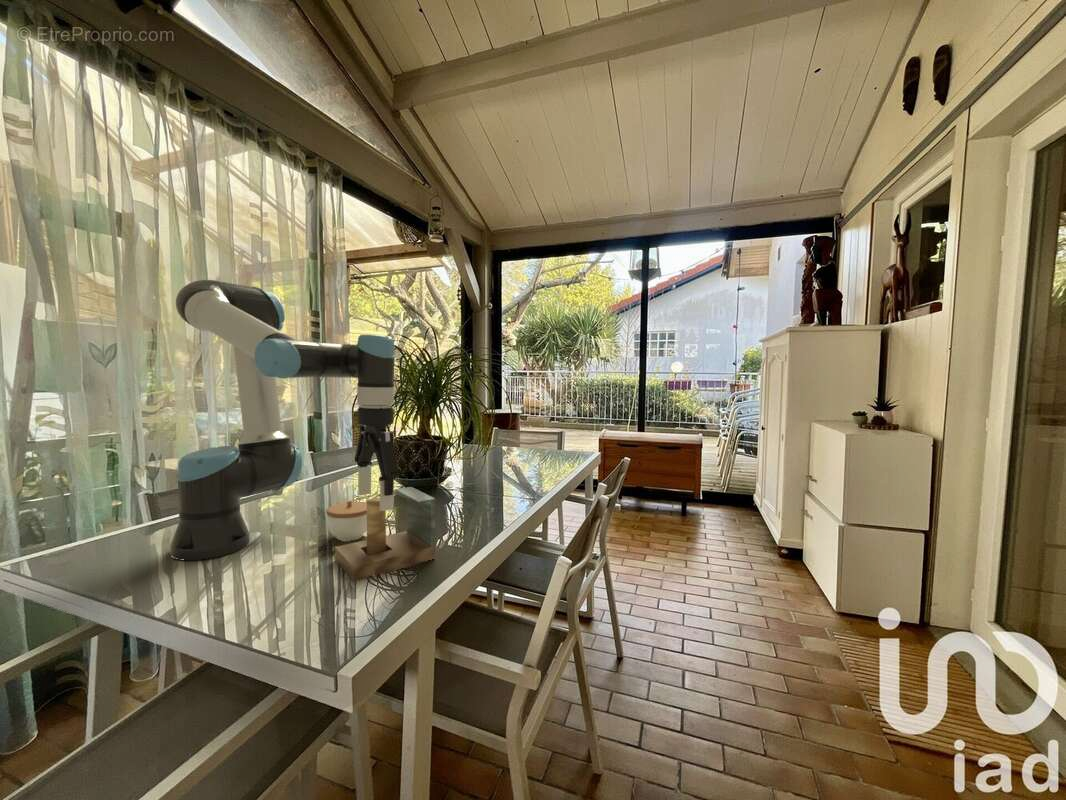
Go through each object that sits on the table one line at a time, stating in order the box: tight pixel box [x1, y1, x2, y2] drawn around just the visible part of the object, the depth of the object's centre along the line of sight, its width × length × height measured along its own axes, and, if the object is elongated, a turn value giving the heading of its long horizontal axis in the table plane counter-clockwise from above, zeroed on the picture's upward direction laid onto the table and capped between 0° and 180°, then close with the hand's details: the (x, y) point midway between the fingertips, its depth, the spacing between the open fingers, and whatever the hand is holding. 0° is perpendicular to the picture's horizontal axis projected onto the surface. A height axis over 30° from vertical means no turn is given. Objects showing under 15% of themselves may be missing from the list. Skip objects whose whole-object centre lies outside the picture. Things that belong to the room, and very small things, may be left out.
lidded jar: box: [326, 500, 367, 542], centre depth 113 cm, size 11×11×9 cm
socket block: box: [334, 486, 436, 582], centre depth 100 cm, size 18×13×14 cm
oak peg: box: [366, 497, 387, 556], centre depth 98 cm, size 4×4×14 cm
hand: (375, 501), depth 98 cm, fingers open, 13 cm apart
